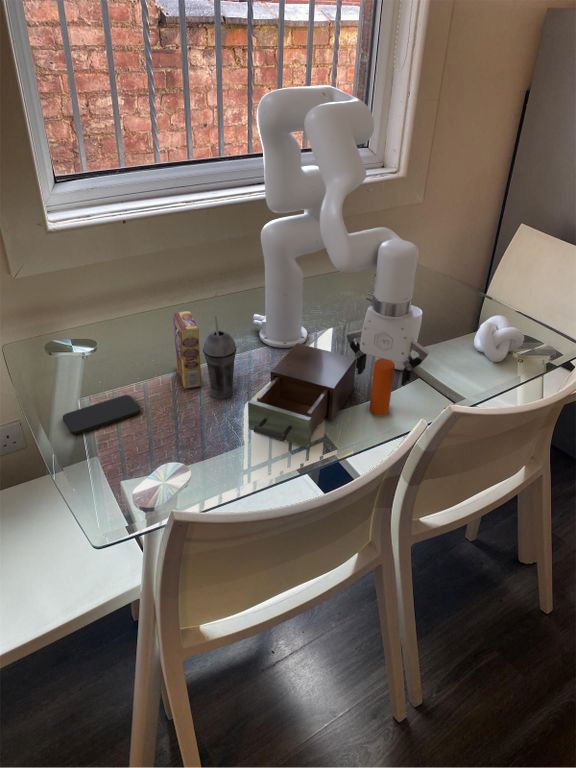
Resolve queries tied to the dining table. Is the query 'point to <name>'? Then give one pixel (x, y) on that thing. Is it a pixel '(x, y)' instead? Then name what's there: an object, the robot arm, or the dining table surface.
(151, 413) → the dining table surface
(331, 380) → the cabinet
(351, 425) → the dining table surface
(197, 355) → the candy box
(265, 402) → the drawer
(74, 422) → the phone
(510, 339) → the white knot sculpture
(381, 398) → the roller
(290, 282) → the robot arm
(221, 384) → the beverage cup
